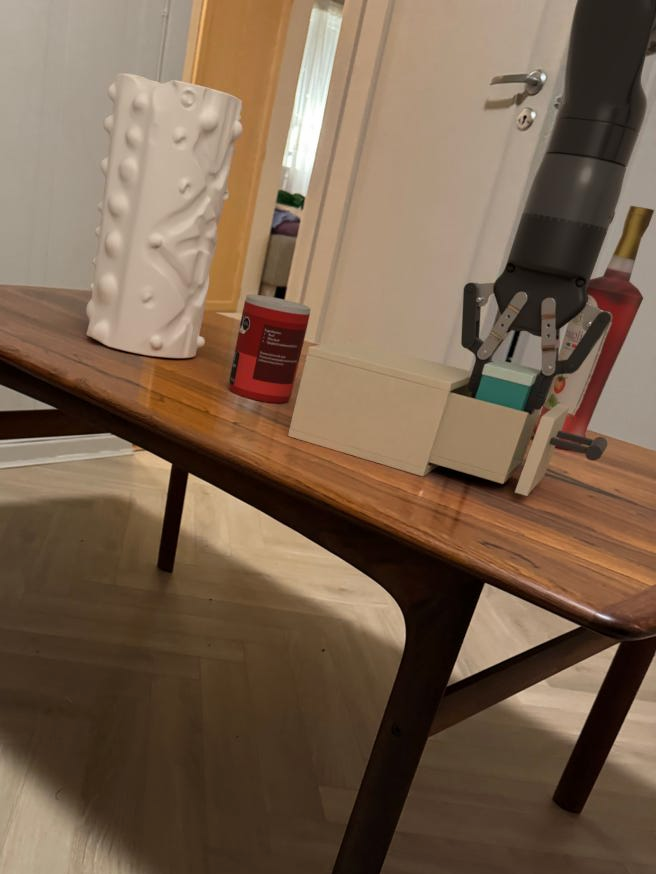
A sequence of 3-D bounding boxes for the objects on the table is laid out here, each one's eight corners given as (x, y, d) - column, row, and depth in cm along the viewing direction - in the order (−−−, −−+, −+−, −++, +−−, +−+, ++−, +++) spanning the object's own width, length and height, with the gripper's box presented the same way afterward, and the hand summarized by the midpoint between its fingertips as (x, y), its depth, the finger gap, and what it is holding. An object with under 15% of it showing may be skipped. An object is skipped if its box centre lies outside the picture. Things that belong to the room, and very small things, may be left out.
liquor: (514, 434, 118) (596, 199, 106) (553, 437, 121) (637, 210, 109) (556, 451, 112) (647, 205, 100) (596, 454, 116) (689, 216, 103)
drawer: (590, 489, 93) (618, 418, 89) (578, 511, 83) (608, 433, 80) (420, 440, 99) (440, 373, 96) (390, 456, 90) (412, 382, 87)
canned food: (247, 384, 116) (265, 294, 111) (301, 401, 112) (323, 309, 107) (215, 388, 110) (233, 293, 105) (271, 406, 106) (292, 308, 101)
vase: (148, 362, 117) (193, 78, 103) (58, 333, 125) (88, 65, 111) (221, 359, 130) (270, 106, 116) (135, 333, 138) (171, 92, 124)
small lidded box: (529, 411, 91) (543, 370, 89) (518, 418, 85) (533, 375, 84) (484, 399, 92) (497, 359, 91) (471, 406, 87) (484, 363, 85)
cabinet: (452, 457, 99) (479, 373, 95) (422, 476, 88) (451, 383, 84) (328, 421, 104) (349, 340, 100) (287, 436, 94) (308, 346, 90)
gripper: (479, 199, 81) (422, 390, 88) (647, 230, 76) (572, 430, 83) (495, 206, 87) (440, 384, 94) (651, 234, 82) (580, 421, 89)
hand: (502, 405), depth 89 cm, fingers closed on small lidded box, 4 cm apart
